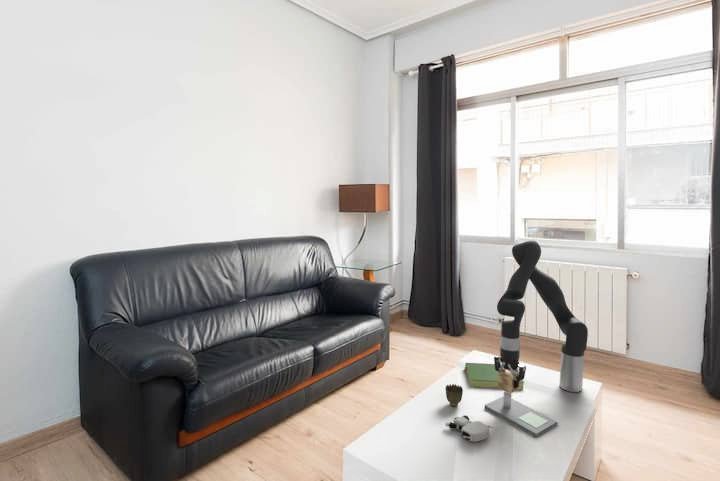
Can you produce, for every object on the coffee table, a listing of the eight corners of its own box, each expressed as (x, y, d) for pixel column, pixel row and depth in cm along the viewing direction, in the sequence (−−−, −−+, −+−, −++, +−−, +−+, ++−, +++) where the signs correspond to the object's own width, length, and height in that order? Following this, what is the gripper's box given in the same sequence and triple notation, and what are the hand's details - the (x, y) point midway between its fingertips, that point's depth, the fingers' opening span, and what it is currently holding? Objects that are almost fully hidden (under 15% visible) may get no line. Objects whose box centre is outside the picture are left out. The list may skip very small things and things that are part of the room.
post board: (505, 398, 175) (506, 382, 174) (557, 425, 155) (558, 407, 154) (484, 408, 167) (485, 391, 166) (536, 437, 147) (537, 418, 146)
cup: (463, 410, 165) (463, 393, 164) (445, 409, 167) (445, 391, 166) (462, 401, 173) (462, 384, 172) (445, 400, 174) (445, 383, 173)
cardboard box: (498, 387, 165) (498, 373, 164) (507, 383, 169) (507, 369, 168) (510, 393, 160) (510, 378, 159) (519, 389, 164) (519, 374, 163)
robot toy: (443, 431, 153) (473, 449, 141) (442, 420, 153) (472, 437, 140) (465, 421, 160) (495, 437, 147) (464, 410, 159) (495, 426, 147)
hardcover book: (513, 371, 202) (513, 364, 201) (523, 390, 183) (524, 382, 183) (463, 369, 205) (464, 362, 204) (468, 387, 186) (469, 379, 186)
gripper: (489, 343, 166) (488, 380, 168) (519, 354, 154) (518, 394, 156) (500, 339, 170) (500, 375, 172) (531, 349, 158) (529, 389, 160)
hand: (508, 384), depth 164 cm, fingers closed on cardboard box, 6 cm apart
